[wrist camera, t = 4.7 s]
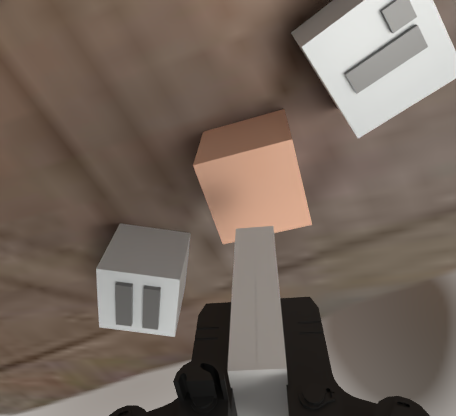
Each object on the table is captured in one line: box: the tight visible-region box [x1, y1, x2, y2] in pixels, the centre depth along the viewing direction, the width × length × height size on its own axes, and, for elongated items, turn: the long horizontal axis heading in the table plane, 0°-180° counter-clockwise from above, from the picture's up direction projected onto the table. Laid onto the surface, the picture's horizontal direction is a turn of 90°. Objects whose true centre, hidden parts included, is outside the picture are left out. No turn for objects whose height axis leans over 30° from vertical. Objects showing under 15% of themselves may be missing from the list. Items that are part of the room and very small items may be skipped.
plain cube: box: [193, 109, 312, 244], centre depth 22 cm, size 5×5×5 cm
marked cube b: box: [291, 0, 456, 138], centre depth 18 cm, size 5×5×5 cm
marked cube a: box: [96, 223, 191, 337], centre depth 26 cm, size 5×5×5 cm
